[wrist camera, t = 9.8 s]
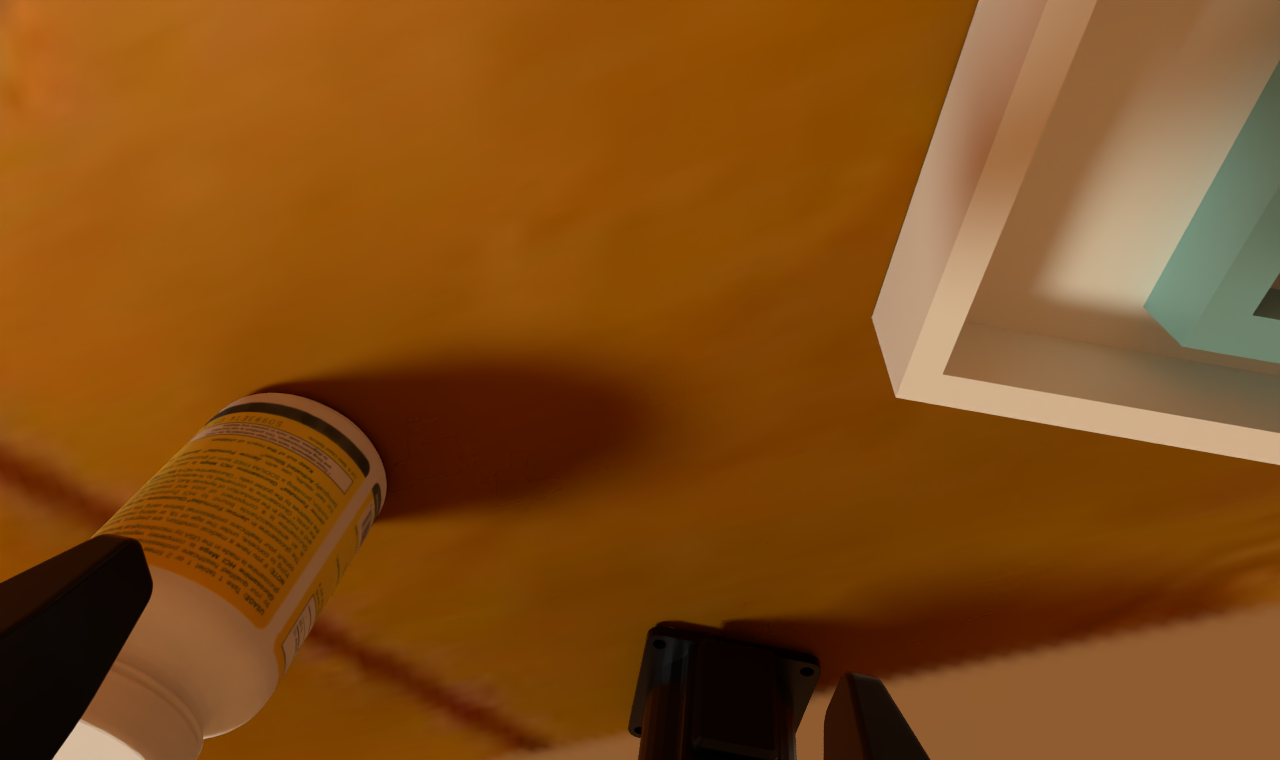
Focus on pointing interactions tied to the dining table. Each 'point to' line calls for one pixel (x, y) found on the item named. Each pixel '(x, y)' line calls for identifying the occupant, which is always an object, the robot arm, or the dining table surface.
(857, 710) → the robot arm
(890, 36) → the dining table surface
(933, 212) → the walled box
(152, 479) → the pill bottle
